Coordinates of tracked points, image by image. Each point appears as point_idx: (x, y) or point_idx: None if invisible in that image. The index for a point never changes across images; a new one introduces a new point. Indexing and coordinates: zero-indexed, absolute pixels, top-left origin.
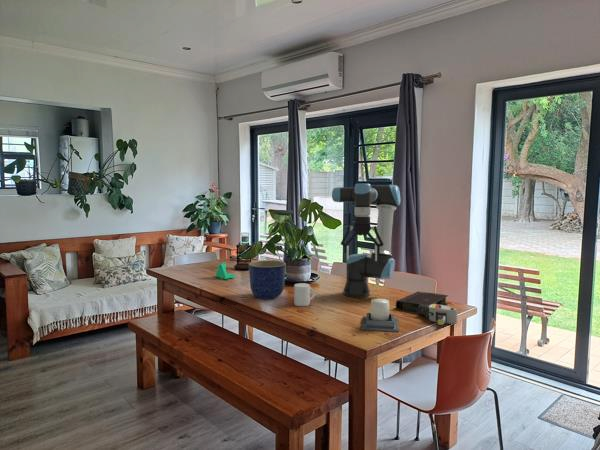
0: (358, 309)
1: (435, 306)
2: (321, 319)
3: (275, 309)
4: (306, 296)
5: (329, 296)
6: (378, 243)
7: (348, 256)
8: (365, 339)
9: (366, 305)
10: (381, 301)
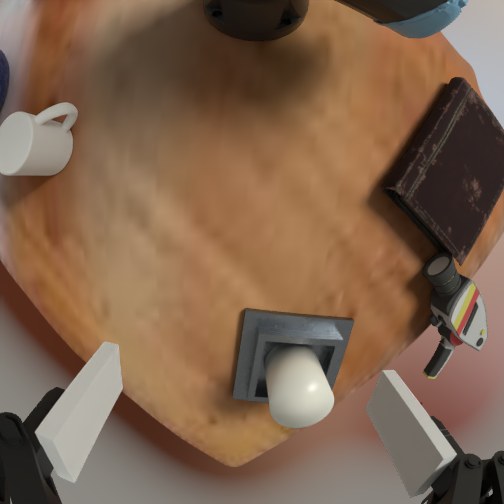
0: (241, 196)
1: (464, 314)
2: (117, 315)
3: (3, 220)
4: (45, 166)
5: (148, 35)
6: (479, 479)
7: (108, 369)
8: (237, 439)
9: (279, 139)
10: (305, 410)
